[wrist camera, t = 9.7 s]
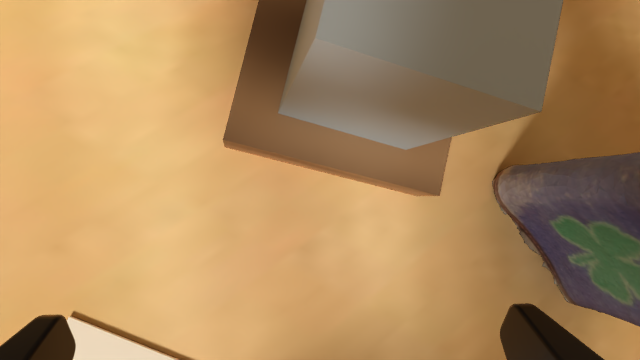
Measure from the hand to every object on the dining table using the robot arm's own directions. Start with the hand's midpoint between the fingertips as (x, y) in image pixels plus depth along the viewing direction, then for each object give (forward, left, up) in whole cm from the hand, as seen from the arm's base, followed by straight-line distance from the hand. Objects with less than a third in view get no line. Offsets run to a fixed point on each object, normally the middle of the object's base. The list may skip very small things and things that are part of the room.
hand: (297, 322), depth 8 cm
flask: (-12, -9, -12) cm, 19 cm away
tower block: (+2, -9, -9) cm, 13 cm away
